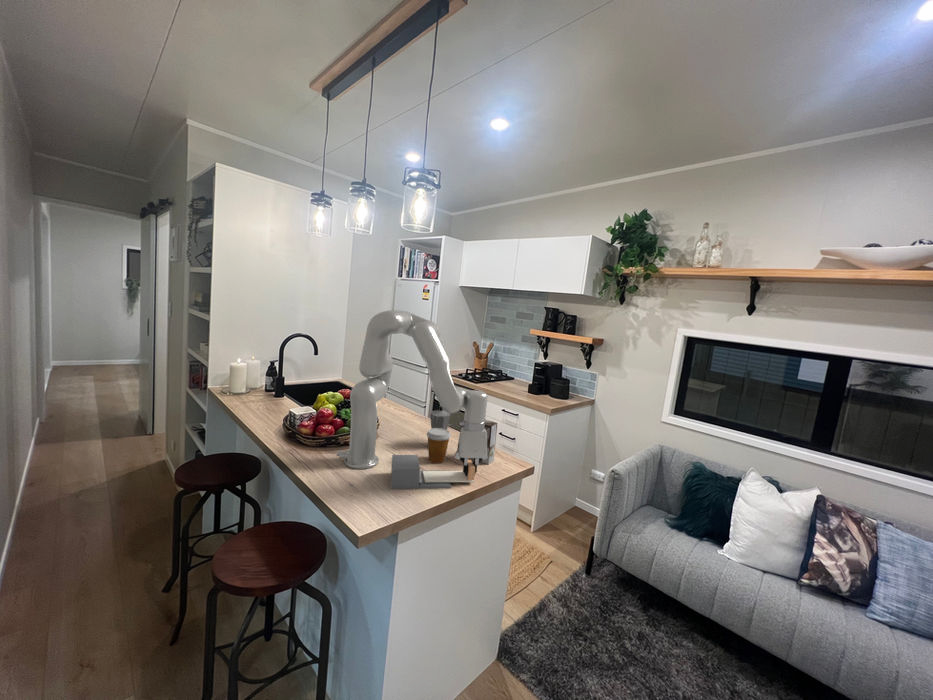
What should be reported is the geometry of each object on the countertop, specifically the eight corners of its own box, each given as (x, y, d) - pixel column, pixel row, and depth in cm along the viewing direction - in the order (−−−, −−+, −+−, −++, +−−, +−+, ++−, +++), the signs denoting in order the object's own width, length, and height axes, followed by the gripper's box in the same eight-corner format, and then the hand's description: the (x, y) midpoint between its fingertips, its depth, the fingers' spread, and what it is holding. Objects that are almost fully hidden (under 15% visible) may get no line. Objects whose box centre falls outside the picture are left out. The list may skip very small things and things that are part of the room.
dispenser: (391, 488, 123) (392, 469, 123) (391, 472, 135) (392, 454, 134) (450, 488, 128) (452, 469, 127) (445, 472, 139) (447, 455, 139)
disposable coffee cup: (444, 467, 144) (447, 437, 143) (421, 462, 146) (423, 433, 144) (450, 457, 153) (453, 429, 152) (428, 454, 155) (431, 426, 154)
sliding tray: (424, 482, 128) (425, 468, 127) (422, 472, 135) (423, 459, 135) (474, 482, 131) (475, 468, 131) (469, 471, 139) (470, 459, 139)
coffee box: (494, 459, 155) (498, 422, 153) (488, 464, 150) (492, 426, 148) (475, 454, 159) (478, 417, 158) (468, 458, 154) (471, 421, 152)
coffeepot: (441, 453, 157) (444, 412, 155) (421, 448, 160) (424, 408, 158) (455, 442, 171) (458, 404, 169) (437, 438, 175) (440, 400, 173)
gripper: (454, 428, 128) (449, 479, 130) (498, 429, 131) (493, 479, 133) (450, 421, 135) (446, 469, 137) (492, 422, 138) (487, 469, 140)
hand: (469, 474), depth 135 cm, fingers closed on sliding tray, 2 cm apart
